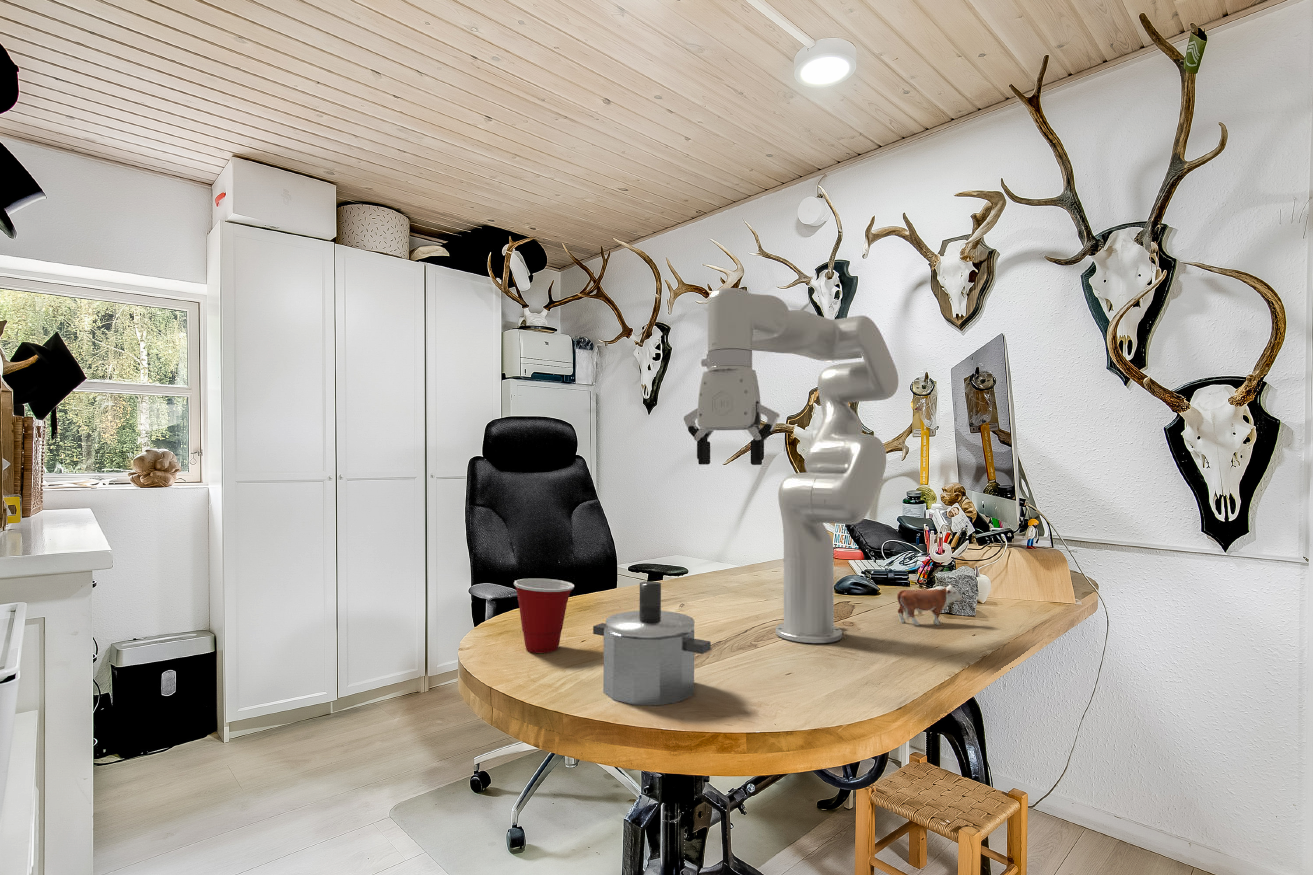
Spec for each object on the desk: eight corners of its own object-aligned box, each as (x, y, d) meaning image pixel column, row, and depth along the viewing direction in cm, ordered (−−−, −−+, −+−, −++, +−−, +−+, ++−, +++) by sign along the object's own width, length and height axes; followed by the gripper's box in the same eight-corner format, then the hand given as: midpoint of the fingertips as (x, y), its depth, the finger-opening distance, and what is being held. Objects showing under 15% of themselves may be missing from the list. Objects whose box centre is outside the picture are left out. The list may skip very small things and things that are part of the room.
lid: (636, 619, 106) (637, 572, 106) (709, 630, 99) (709, 580, 100) (587, 637, 95) (588, 585, 95) (665, 651, 88) (666, 595, 88)
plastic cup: (578, 654, 113) (579, 585, 114) (515, 659, 110) (516, 588, 111) (569, 638, 124) (569, 574, 124) (510, 642, 121) (511, 577, 121)
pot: (621, 665, 107) (622, 610, 108) (727, 687, 97) (727, 626, 98) (570, 689, 96) (570, 627, 97) (683, 716, 86) (683, 648, 86)
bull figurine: (964, 626, 135) (964, 586, 135) (900, 626, 135) (900, 586, 135) (954, 621, 139) (954, 582, 140) (892, 621, 139) (892, 582, 139)
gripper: (674, 364, 112) (674, 464, 111) (769, 356, 103) (769, 465, 102) (695, 369, 118) (695, 464, 117) (786, 362, 109) (786, 465, 108)
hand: (729, 464), depth 110 cm, fingers open, 9 cm apart
